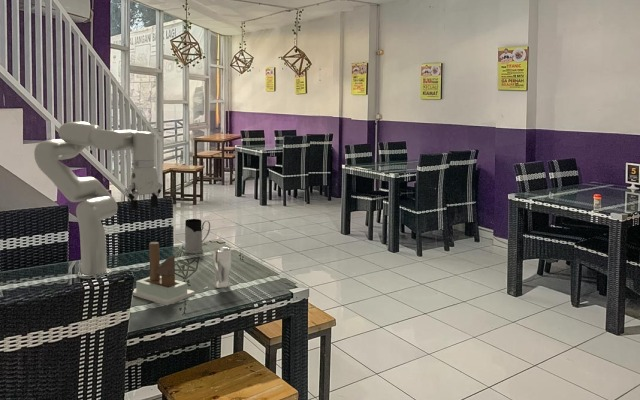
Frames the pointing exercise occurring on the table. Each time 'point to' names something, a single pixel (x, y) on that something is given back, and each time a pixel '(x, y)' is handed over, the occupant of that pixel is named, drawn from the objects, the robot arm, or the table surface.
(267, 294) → the table surface
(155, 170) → the robot arm
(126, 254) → the table surface
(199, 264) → the table surface
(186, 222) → the grey handled cylinder
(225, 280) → the beer glass
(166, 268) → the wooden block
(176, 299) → the end cap
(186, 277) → the table surface
